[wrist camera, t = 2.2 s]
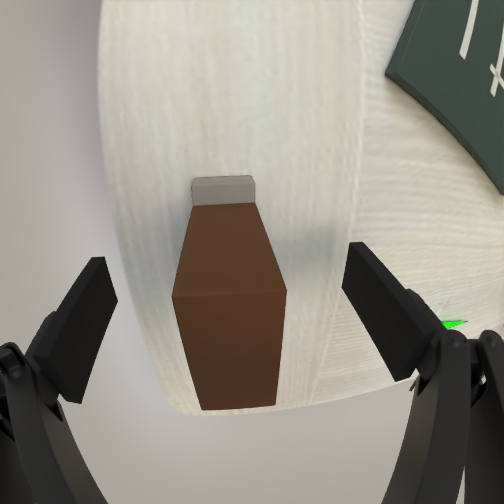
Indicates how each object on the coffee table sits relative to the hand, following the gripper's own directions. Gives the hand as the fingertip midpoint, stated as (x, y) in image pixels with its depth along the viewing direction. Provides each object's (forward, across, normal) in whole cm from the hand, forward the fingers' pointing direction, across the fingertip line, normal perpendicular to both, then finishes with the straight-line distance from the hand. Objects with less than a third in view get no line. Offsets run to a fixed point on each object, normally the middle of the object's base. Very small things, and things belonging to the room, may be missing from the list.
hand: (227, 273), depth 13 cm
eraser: (+3, 0, 0) cm, 3 cm away
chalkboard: (+3, +22, +19) cm, 29 cm away
